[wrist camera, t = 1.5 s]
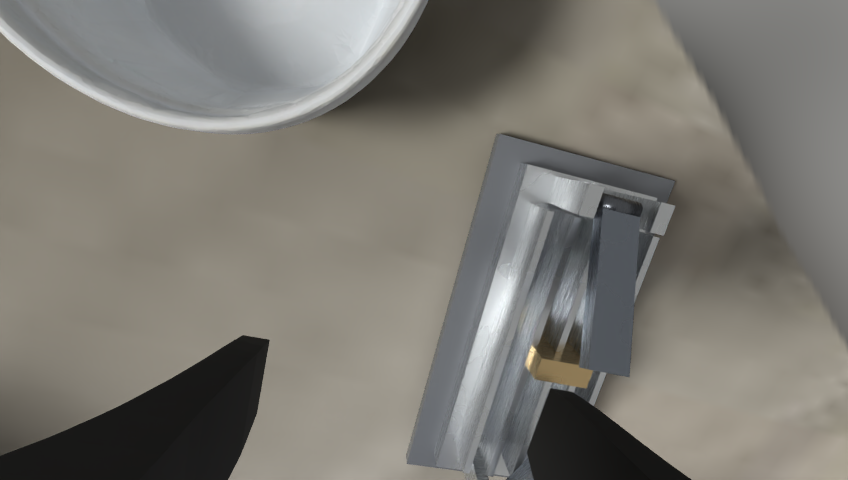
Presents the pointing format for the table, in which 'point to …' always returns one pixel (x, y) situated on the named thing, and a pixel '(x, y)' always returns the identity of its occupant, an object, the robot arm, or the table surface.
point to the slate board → (479, 257)
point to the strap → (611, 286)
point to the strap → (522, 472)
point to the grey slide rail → (532, 320)
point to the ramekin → (213, 55)
